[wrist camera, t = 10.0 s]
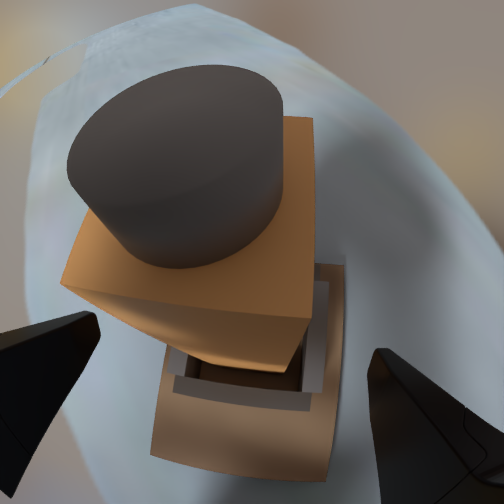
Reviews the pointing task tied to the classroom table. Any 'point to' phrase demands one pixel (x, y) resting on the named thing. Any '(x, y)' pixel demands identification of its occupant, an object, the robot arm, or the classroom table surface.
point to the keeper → (258, 403)
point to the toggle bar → (199, 215)
